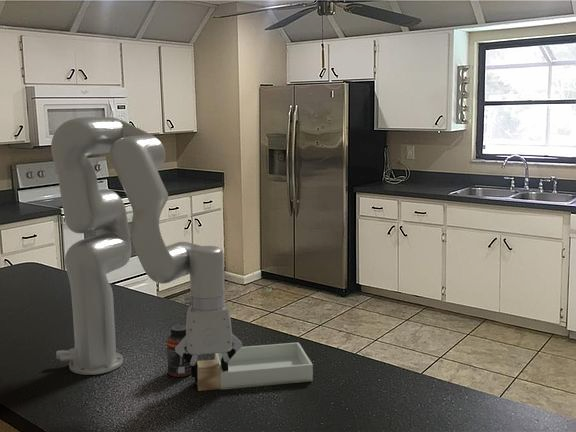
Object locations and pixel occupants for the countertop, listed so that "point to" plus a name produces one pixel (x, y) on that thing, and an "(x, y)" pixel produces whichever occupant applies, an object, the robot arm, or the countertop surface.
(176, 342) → the supplement bottle
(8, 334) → the countertop surface
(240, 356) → the tray
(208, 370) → the maple cube
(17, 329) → the countertop surface
